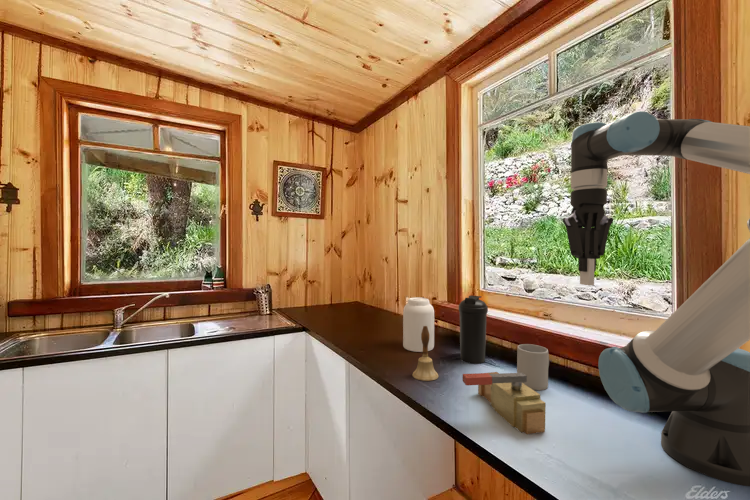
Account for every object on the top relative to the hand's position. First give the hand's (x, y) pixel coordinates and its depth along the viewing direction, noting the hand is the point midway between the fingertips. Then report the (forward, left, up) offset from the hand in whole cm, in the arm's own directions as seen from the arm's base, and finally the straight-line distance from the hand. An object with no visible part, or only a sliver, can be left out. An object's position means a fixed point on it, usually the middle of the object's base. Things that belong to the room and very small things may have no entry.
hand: (586, 284), depth 82 cm
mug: (+18, 0, -33) cm, 37 cm away
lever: (+3, +23, -25) cm, 35 cm away
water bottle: (+40, +9, -33) cm, 52 cm away
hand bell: (+30, +31, -33) cm, 54 cm away
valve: (+5, +18, -32) cm, 37 cm away
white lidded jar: (+57, +24, -33) cm, 70 cm away
